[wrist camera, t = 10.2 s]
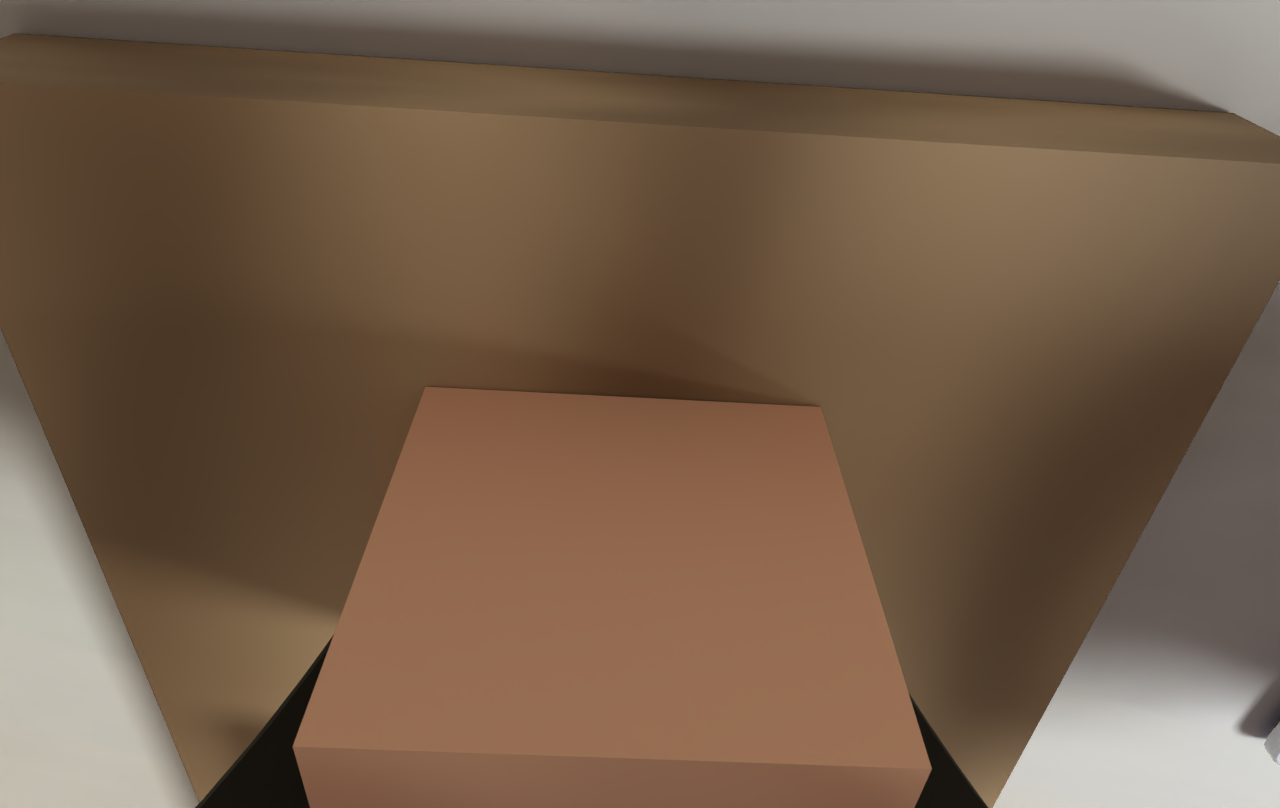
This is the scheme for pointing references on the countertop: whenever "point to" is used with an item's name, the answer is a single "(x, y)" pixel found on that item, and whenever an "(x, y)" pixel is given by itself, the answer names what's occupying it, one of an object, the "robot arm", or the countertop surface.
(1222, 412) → the countertop surface
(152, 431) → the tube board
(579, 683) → the block
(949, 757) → the robot arm
